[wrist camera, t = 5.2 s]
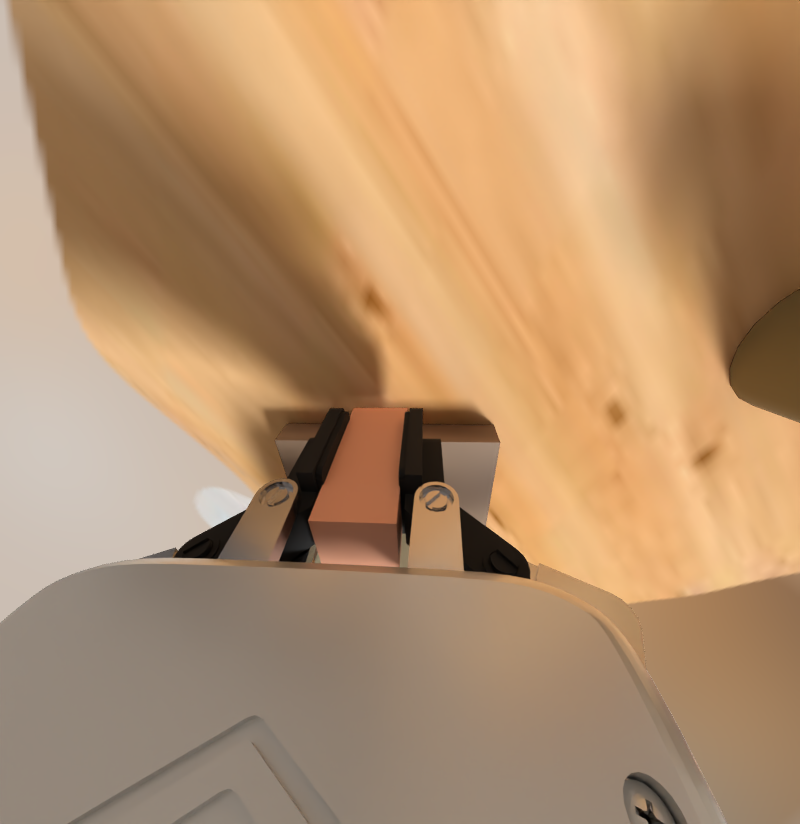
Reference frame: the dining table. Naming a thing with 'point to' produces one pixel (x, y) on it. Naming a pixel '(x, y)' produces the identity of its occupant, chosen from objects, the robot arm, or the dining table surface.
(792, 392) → the cork
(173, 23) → the dining table surface
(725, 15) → the dining table surface
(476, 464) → the shelf
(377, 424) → the joined block piece
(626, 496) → the dining table surface
